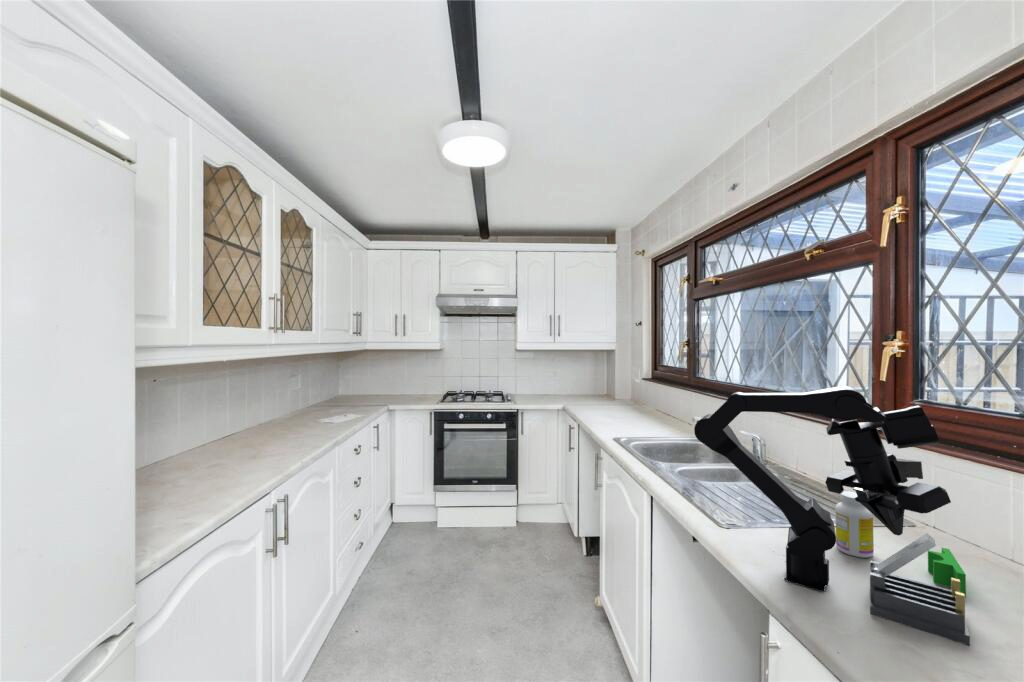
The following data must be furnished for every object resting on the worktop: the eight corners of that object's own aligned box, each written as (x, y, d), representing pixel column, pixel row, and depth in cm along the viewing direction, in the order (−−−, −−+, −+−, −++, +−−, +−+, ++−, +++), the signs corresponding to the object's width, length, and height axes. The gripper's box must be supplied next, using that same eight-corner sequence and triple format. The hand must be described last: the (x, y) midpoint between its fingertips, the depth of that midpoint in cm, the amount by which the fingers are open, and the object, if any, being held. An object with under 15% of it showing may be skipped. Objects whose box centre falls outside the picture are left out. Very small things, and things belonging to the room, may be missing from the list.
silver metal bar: (878, 584, 76) (868, 575, 77) (878, 576, 79) (868, 567, 80) (938, 547, 71) (926, 538, 72) (935, 539, 74) (924, 531, 75)
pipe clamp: (924, 565, 90) (924, 544, 90) (949, 570, 88) (949, 548, 88) (937, 591, 81) (937, 567, 81) (966, 598, 79) (965, 573, 79)
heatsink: (870, 614, 75) (869, 575, 74) (870, 587, 82) (870, 553, 82) (969, 645, 67) (969, 602, 67) (960, 613, 74) (960, 575, 74)
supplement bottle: (874, 550, 96) (874, 494, 96) (872, 562, 91) (872, 503, 91) (837, 541, 101) (837, 487, 100) (834, 552, 96) (833, 495, 96)
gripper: (956, 443, 72) (994, 534, 70) (854, 434, 90) (882, 506, 89) (905, 465, 70) (942, 559, 68) (811, 451, 88) (839, 525, 87)
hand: (898, 534), depth 78 cm, fingers closed
